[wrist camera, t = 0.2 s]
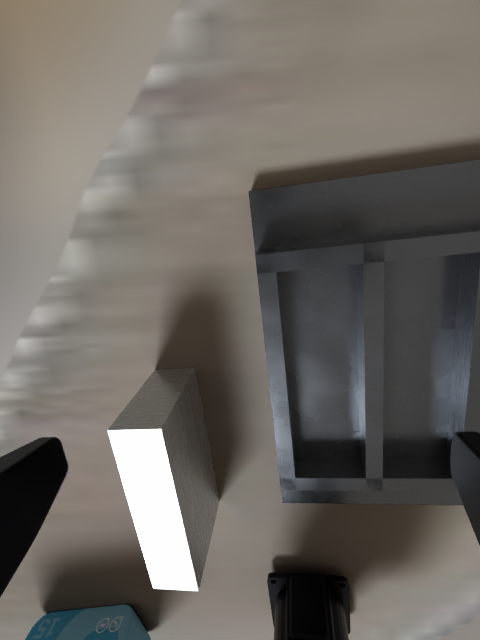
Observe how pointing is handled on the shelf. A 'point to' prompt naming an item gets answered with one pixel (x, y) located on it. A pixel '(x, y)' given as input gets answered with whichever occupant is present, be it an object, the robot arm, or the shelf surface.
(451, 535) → the shelf surface
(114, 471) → the shelf surface
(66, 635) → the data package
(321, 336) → the rack
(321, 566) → the shelf surface
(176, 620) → the shelf surface
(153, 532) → the panel
